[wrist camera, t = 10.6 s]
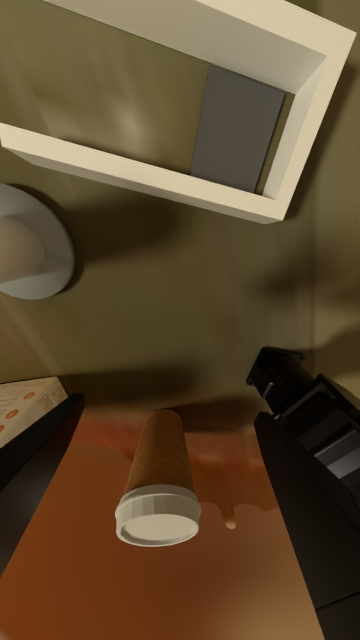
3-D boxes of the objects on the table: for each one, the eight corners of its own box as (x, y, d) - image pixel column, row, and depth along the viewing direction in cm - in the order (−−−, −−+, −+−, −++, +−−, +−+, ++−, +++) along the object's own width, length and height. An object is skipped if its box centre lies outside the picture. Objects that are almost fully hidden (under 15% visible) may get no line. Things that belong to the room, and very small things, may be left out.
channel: (317, 77, 13) (356, 32, 10) (264, 224, 17) (282, 220, 14) (10, -44, 10) (-49, -149, 7) (34, 164, 14) (1, 146, 11)
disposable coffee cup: (138, 398, 26) (114, 510, 15) (197, 405, 27) (214, 513, 16) (131, 436, 30) (108, 547, 19) (183, 441, 31) (190, 548, 20)
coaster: (73, 201, 15) (67, 199, 14) (77, 303, 19) (73, 306, 18) (-53, 171, 14) (-69, 166, 13) (-21, 287, 18) (-31, 289, 17)
